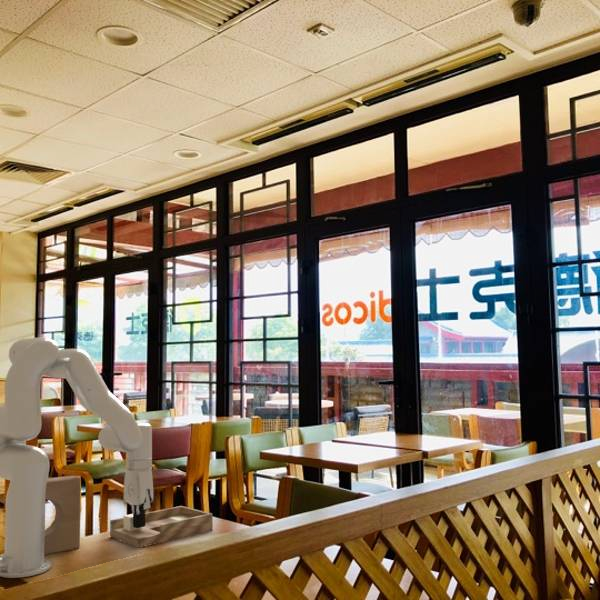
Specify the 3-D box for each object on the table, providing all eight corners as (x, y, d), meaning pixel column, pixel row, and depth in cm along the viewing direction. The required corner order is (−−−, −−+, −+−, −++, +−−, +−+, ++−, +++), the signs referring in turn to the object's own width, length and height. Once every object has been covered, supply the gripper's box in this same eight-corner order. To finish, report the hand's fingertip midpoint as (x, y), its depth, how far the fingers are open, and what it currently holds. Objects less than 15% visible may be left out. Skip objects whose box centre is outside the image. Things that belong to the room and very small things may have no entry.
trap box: (139, 547, 186) (139, 530, 186) (110, 537, 198) (110, 520, 198) (212, 530, 204) (212, 513, 205) (181, 521, 216) (181, 505, 217)
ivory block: (130, 531, 195) (130, 517, 195) (123, 529, 197) (123, 515, 198) (142, 528, 197) (142, 515, 198) (135, 526, 200) (135, 513, 201)
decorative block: (40, 556, 180) (41, 482, 181) (34, 551, 184) (35, 479, 186) (80, 548, 186) (81, 477, 188) (73, 544, 191) (74, 474, 193)
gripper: (115, 463, 199) (115, 525, 197) (141, 469, 188) (141, 534, 187) (137, 460, 204) (137, 520, 202) (163, 465, 193) (163, 528, 192)
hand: (139, 526), depth 195 cm, fingers closed
